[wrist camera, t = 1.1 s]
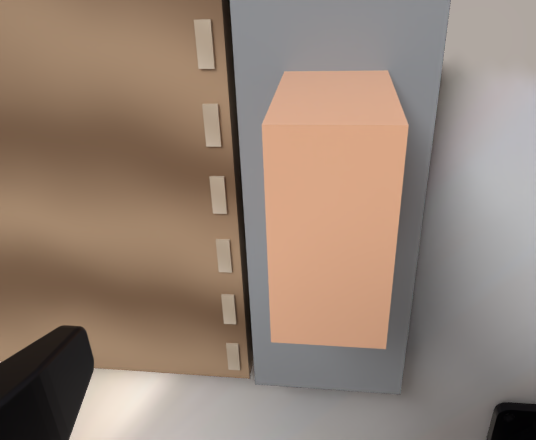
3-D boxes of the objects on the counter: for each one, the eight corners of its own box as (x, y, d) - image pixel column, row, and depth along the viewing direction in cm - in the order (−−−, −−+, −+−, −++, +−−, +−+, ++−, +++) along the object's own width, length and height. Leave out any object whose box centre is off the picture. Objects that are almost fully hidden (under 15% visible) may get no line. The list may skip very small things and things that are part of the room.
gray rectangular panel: (396, 367, 22) (416, 515, 16) (260, 358, 23) (233, 497, 17) (468, -237, 12) (577, -389, 7) (226, -217, 13) (140, -339, 7)
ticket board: (254, 353, 23) (249, 380, 22) (9, 338, 24) (-10, 362, 23) (218, -213, 13) (203, -231, 12) (-181, -180, 15) (-236, -193, 13)
